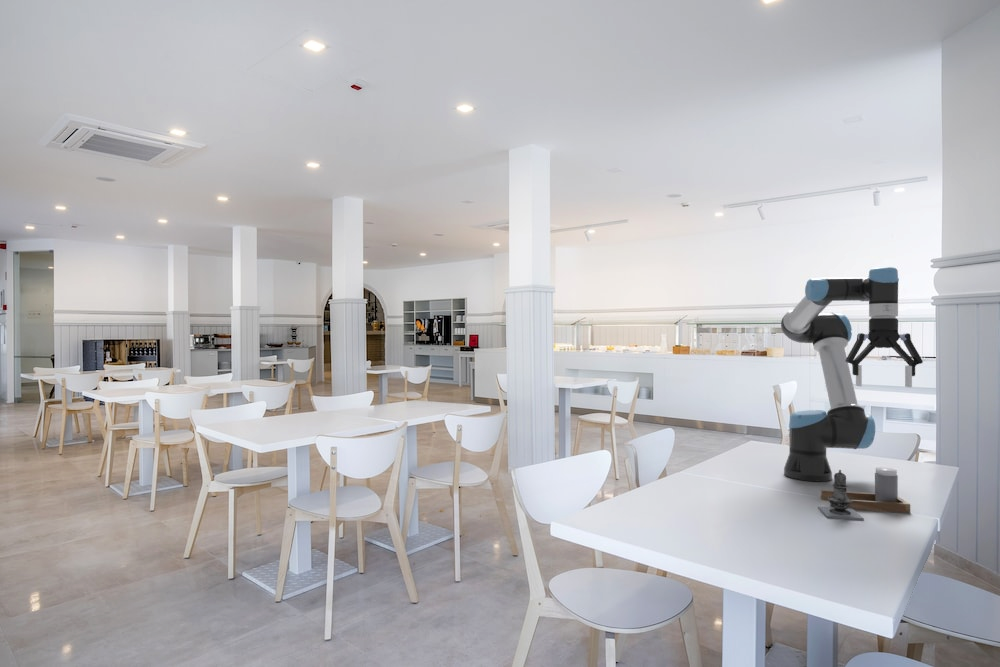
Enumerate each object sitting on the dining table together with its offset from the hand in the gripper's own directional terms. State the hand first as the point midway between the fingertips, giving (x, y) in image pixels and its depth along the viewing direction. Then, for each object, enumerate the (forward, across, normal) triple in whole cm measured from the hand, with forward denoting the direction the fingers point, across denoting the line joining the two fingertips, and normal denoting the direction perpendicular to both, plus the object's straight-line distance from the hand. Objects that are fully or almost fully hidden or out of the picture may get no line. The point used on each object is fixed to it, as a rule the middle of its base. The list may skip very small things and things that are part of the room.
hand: (883, 386), depth 178 cm
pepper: (+35, -2, -9) cm, 36 cm away
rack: (+35, -9, -9) cm, 37 cm away
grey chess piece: (+34, -18, -20) cm, 44 cm away
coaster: (+35, -18, -20) cm, 44 cm away
